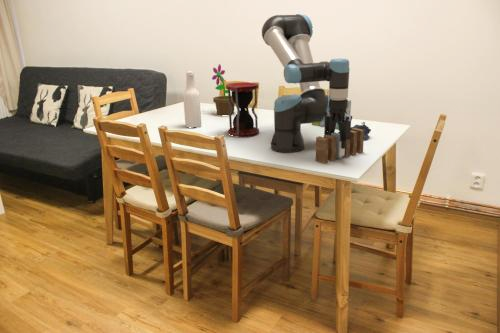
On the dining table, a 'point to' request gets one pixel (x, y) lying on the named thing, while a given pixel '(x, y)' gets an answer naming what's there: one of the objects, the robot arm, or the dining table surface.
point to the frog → (363, 127)
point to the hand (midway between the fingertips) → (336, 154)
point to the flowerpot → (222, 101)
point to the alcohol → (191, 102)
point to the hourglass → (242, 109)
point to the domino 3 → (337, 144)
